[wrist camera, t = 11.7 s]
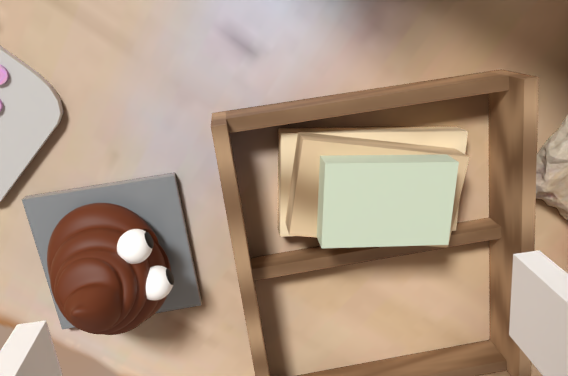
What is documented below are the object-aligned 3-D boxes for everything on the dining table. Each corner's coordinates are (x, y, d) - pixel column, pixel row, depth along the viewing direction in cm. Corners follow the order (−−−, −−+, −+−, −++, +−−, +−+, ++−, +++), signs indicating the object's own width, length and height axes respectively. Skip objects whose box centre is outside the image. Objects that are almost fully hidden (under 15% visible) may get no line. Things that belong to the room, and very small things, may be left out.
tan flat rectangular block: (277, 126, 40) (281, 133, 38) (454, 124, 42) (468, 131, 39) (276, 224, 43) (280, 236, 40) (443, 219, 44) (456, 230, 42)
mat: (25, 196, 39) (21, 199, 38) (174, 172, 40) (174, 175, 39) (65, 323, 43) (62, 329, 42) (201, 300, 43) (201, 305, 42)
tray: (212, 113, 39) (210, 127, 34) (501, 69, 40) (538, 77, 35) (261, 391, 47) (265, 434, 42) (500, 347, 48) (530, 383, 43)
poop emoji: (30, 225, 39) (-26, 287, 30) (136, 178, 39) (110, 227, 30) (98, 330, 42) (66, 414, 33) (196, 287, 42) (189, 360, 33)
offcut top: (319, 155, 36) (325, 163, 34) (446, 154, 37) (459, 162, 35) (316, 236, 38) (321, 248, 36) (437, 233, 39) (448, 244, 37)
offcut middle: (298, 131, 38) (303, 139, 36) (454, 148, 40) (469, 157, 37) (285, 222, 40) (289, 235, 38) (434, 234, 42) (447, 247, 39)
